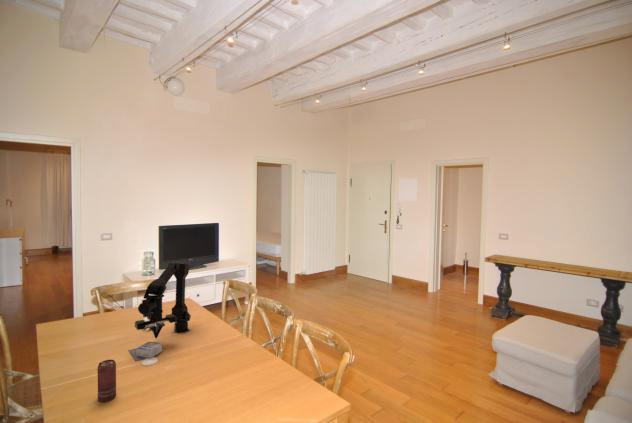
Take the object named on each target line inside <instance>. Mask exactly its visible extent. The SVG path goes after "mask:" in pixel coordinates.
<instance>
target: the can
mask: <svg viewBox="0 0 632 423" xmlns="http://www.w3.org/2000/svg"><path fill="white" fill-rule="evenodd" d="M116 396H117V362H116V360H114V359H105V360H103V361H100V362H99V363H98V365H97V400H98V401H99V402H101V403H105V402H109V401H111V400H114V399H115V398H116Z"/></svg>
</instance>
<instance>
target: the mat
mask: <svg viewBox="0 0 632 423" xmlns="http://www.w3.org/2000/svg"><path fill="white" fill-rule="evenodd" d="M137 348H138V347H135V348H132V349H131V348H130V349H128V353H129V354H130V356H131V357H132V359H133V360H134V361H135V362H138V361H142V360H144V359H146V358H144V357H137ZM158 355H159V353H158V354H157V355H155V356H154V357H156V356H158Z"/></svg>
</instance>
